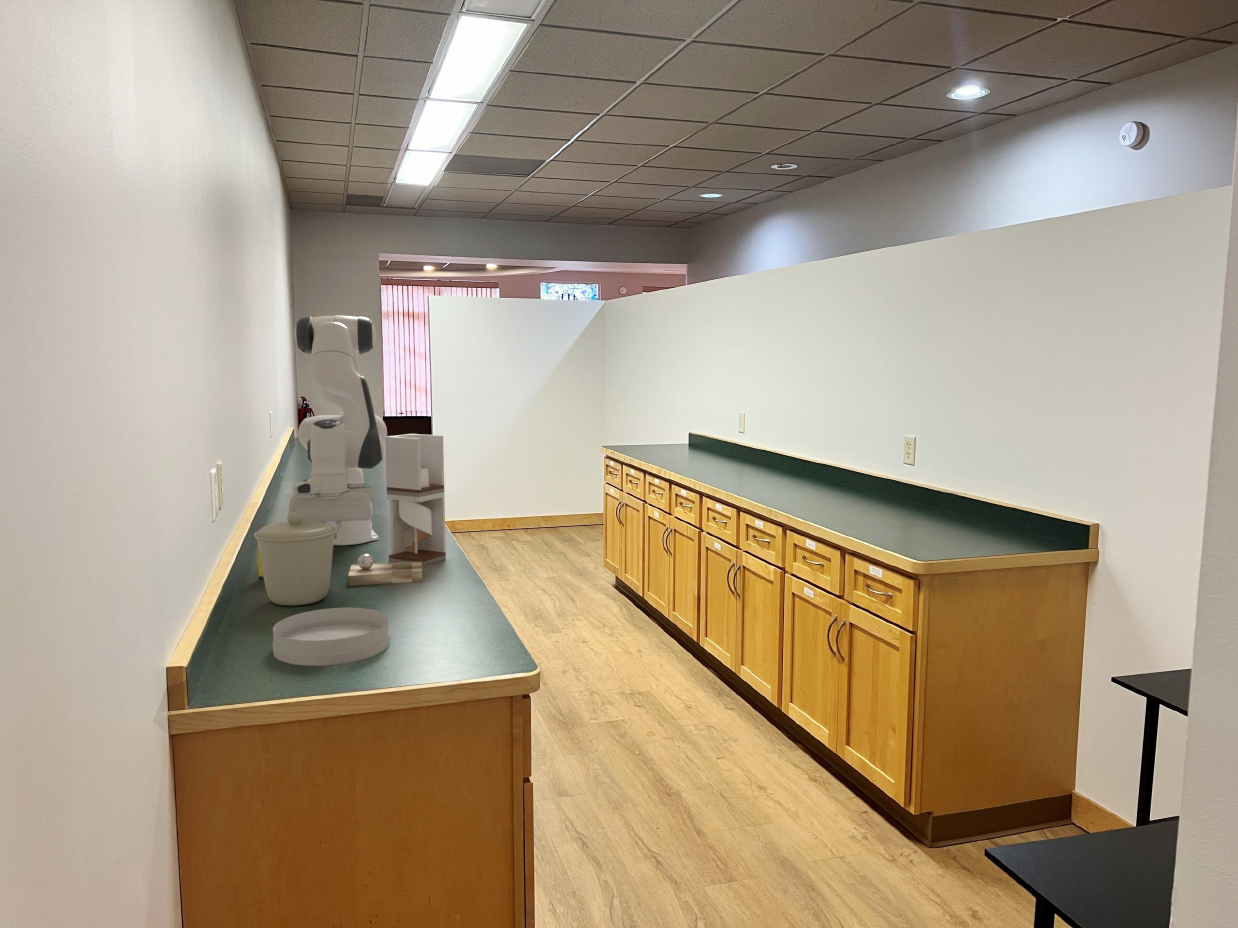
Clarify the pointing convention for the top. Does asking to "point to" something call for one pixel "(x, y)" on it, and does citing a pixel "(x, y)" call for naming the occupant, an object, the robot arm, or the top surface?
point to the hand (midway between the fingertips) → (332, 538)
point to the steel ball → (365, 561)
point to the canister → (296, 559)
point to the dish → (331, 636)
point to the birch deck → (386, 573)
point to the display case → (416, 497)
